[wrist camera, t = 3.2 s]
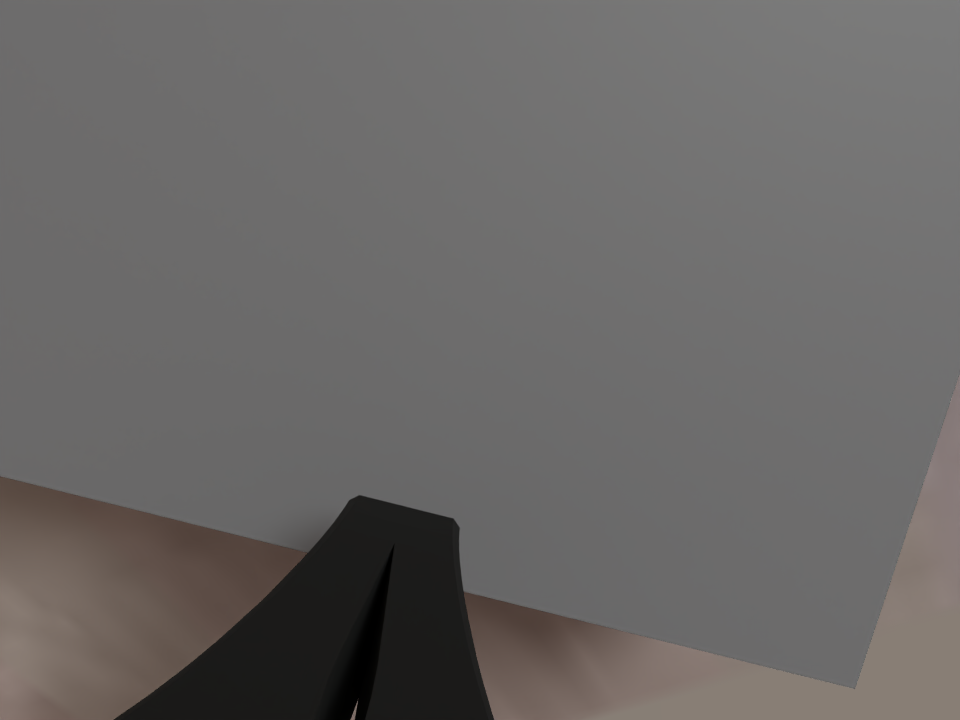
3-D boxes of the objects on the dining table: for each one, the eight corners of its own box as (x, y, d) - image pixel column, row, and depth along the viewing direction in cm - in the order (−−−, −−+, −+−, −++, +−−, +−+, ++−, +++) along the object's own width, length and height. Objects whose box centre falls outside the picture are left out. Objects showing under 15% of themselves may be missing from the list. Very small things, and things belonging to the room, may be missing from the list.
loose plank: (1043, -101, 14) (1136, -159, 12) (809, 629, 15) (855, 688, 13) (8, -370, 13) (-77, -474, 11) (-114, 400, 15) (-207, 424, 13)
